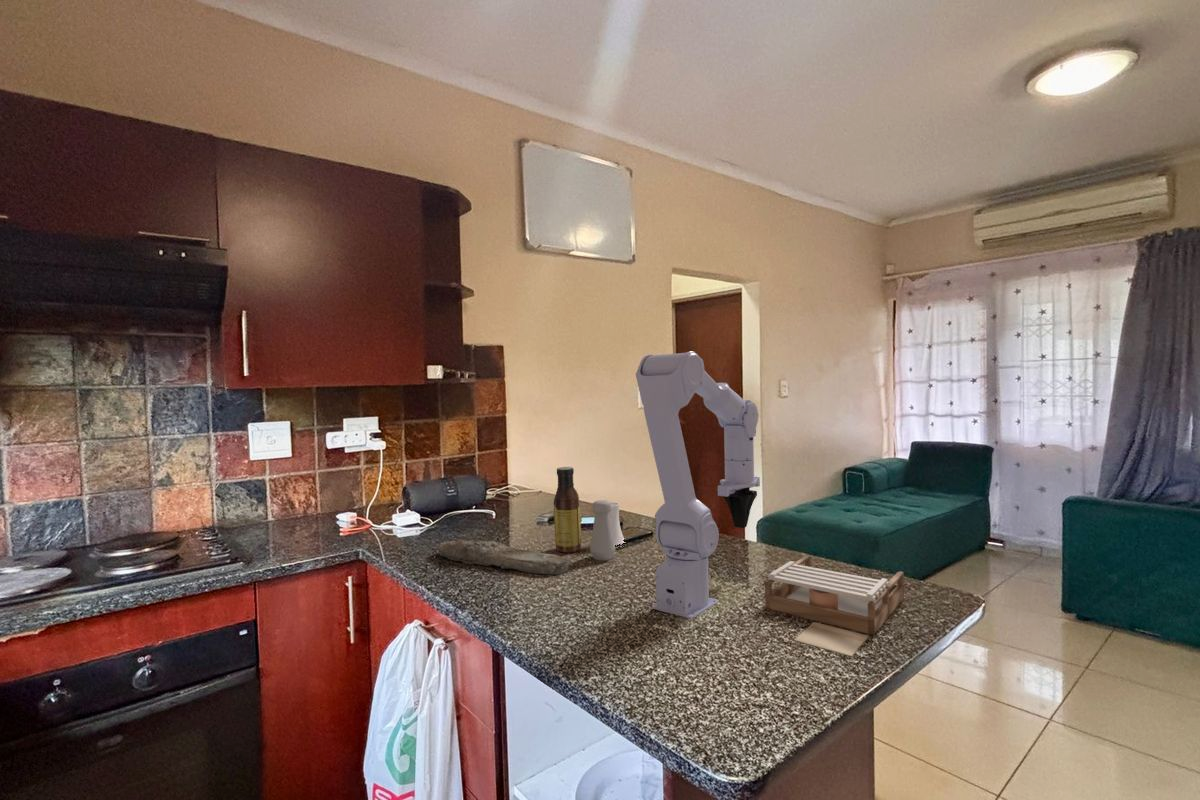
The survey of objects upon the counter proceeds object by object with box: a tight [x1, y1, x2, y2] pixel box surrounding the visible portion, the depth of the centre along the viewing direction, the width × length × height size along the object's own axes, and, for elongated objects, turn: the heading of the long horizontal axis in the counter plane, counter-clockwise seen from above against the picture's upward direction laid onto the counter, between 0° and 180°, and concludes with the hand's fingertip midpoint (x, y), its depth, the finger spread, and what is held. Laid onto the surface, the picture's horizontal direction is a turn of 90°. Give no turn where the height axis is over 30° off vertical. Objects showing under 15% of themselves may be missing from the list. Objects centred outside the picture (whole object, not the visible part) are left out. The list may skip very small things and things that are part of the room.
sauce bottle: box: [553, 466, 582, 554], centre depth 132 cm, size 6×6×20 cm
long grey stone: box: [437, 539, 569, 576], centre depth 123 cm, size 35×5×10 cm
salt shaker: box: [589, 499, 616, 562], centre depth 125 cm, size 6×6×13 cm
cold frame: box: [764, 554, 905, 636], centre depth 95 cm, size 19×17×5 cm
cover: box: [767, 560, 889, 602], centre depth 92 cm, size 9×17×1 cm, turn 49°
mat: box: [794, 621, 869, 658], centre depth 81 cm, size 8×8×1 cm
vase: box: [609, 502, 626, 549], centre depth 136 cm, size 8×8×10 cm
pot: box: [809, 588, 838, 610], centre depth 90 cm, size 4×4×4 cm
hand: (740, 526), depth 111 cm, fingers closed
